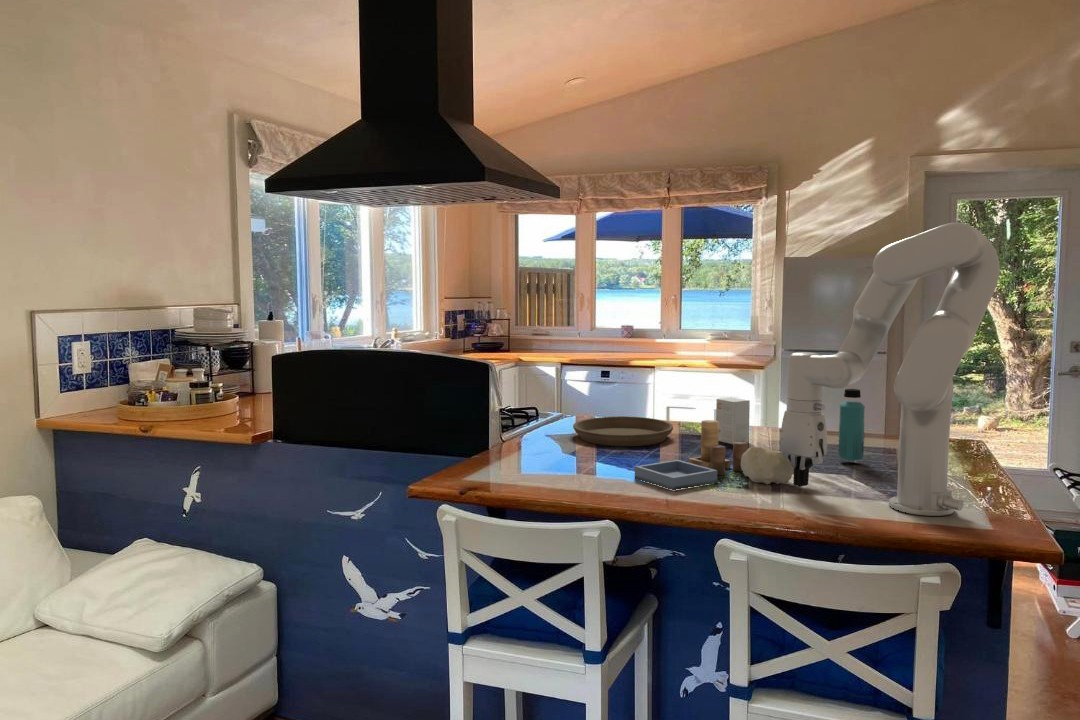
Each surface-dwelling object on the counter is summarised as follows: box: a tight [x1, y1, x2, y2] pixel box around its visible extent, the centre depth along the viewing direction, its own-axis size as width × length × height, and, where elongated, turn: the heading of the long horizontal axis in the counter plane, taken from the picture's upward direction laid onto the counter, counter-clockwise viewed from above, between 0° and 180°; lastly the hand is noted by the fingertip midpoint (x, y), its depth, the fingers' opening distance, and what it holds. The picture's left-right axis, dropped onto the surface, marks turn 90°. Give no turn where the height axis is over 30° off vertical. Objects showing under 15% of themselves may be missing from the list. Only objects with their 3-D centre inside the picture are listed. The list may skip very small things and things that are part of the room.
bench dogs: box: [710, 442, 749, 476], centre depth 204 cm, size 4×12×7 cm, turn 122°
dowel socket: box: [688, 456, 731, 469], centre depth 210 cm, size 8×8×2 cm
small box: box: [715, 397, 751, 445], centre depth 244 cm, size 8×6×13 cm
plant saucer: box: [572, 415, 674, 447], centre depth 251 cm, size 31×31×5 cm
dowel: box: [700, 419, 719, 463], centre depth 210 cm, size 4×4×12 cm
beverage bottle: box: [837, 388, 866, 461], centre depth 214 cm, size 6×7×20 cm
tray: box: [634, 459, 718, 490], centre depth 195 cm, size 14×14×3 cm
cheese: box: [741, 446, 794, 485], centre depth 194 cm, size 15×7×15 cm
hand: (800, 485), depth 185 cm, fingers closed
